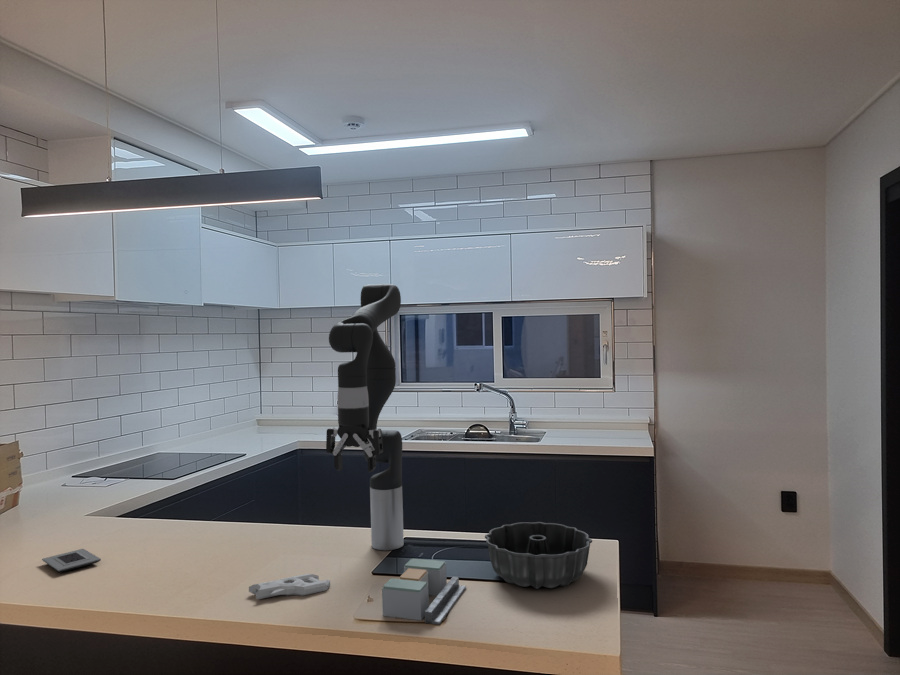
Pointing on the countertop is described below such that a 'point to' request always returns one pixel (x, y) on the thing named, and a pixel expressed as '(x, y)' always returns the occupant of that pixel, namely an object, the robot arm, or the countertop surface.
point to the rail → (444, 601)
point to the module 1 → (415, 575)
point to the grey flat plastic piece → (290, 586)
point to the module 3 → (431, 573)
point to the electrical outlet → (71, 560)
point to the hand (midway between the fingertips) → (355, 470)
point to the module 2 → (405, 599)
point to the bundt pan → (538, 553)
